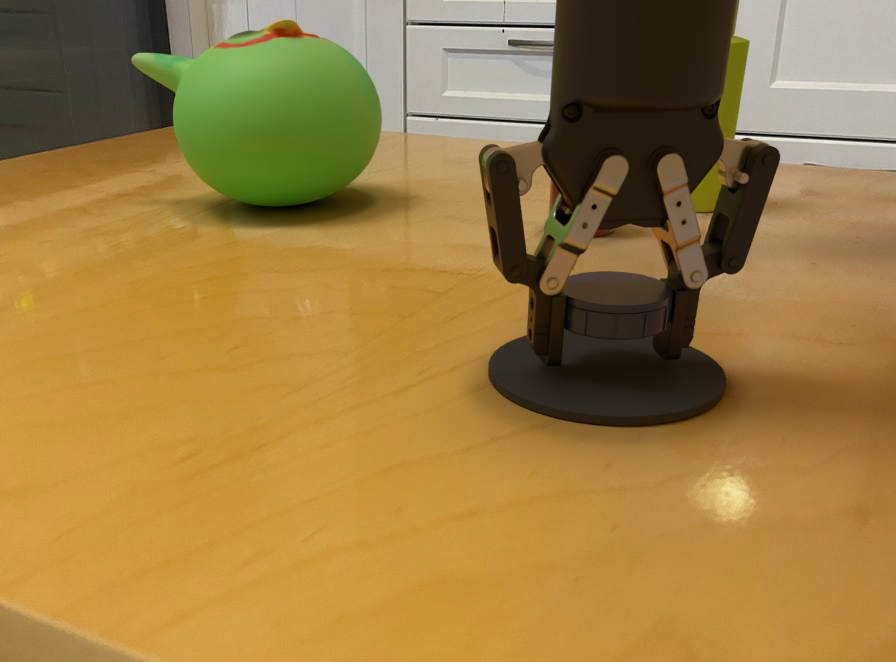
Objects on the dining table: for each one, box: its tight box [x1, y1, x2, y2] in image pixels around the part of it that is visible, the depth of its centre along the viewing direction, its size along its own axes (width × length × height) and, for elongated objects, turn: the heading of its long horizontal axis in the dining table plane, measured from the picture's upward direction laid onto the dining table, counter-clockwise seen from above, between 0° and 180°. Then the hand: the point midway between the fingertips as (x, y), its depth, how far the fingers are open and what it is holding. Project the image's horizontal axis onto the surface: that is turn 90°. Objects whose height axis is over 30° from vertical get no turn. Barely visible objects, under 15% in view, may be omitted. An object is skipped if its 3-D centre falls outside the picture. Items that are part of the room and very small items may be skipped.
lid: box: [562, 270, 673, 340], centre depth 47 cm, size 6×6×2 cm
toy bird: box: [131, 18, 383, 207], centre depth 80 cm, size 18×17×15 cm
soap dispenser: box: [691, 0, 751, 213], centre depth 78 cm, size 6×7×20 cm
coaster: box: [487, 329, 727, 427], centre depth 48 cm, size 12×12×1 cm
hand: (608, 356), depth 48 cm, fingers closed on lid, 5 cm apart
